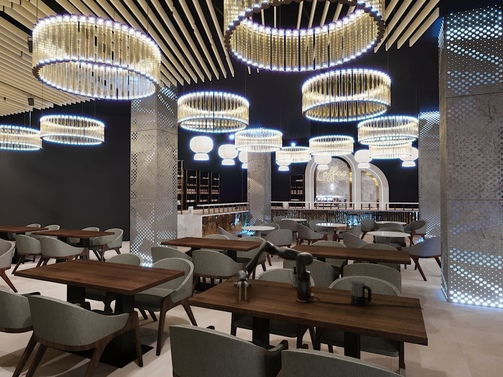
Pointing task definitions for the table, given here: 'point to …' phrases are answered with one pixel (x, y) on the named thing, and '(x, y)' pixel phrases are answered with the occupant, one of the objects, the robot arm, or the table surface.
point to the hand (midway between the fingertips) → (242, 287)
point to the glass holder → (294, 277)
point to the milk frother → (360, 293)
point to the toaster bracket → (240, 290)
